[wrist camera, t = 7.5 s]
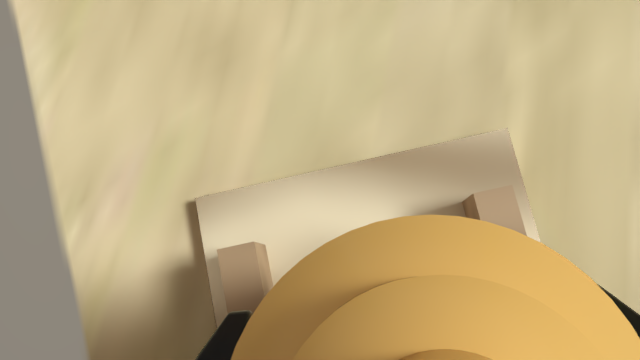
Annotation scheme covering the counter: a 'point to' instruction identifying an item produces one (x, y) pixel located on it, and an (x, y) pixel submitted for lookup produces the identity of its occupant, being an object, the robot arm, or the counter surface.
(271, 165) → the counter surface
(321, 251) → the amber bottle
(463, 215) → the u rest
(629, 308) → the robot arm
